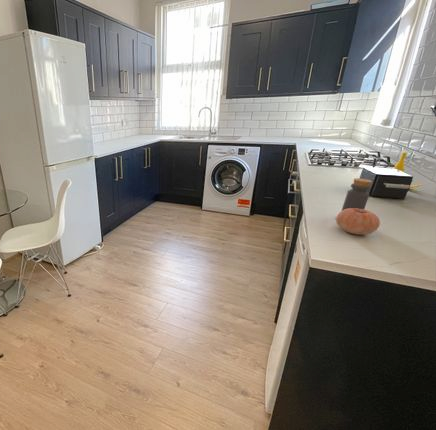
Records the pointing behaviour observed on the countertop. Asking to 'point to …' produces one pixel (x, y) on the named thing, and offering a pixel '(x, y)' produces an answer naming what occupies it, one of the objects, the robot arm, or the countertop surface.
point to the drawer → (391, 186)
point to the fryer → (375, 172)
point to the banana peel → (400, 166)
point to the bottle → (357, 194)
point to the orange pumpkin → (357, 221)
